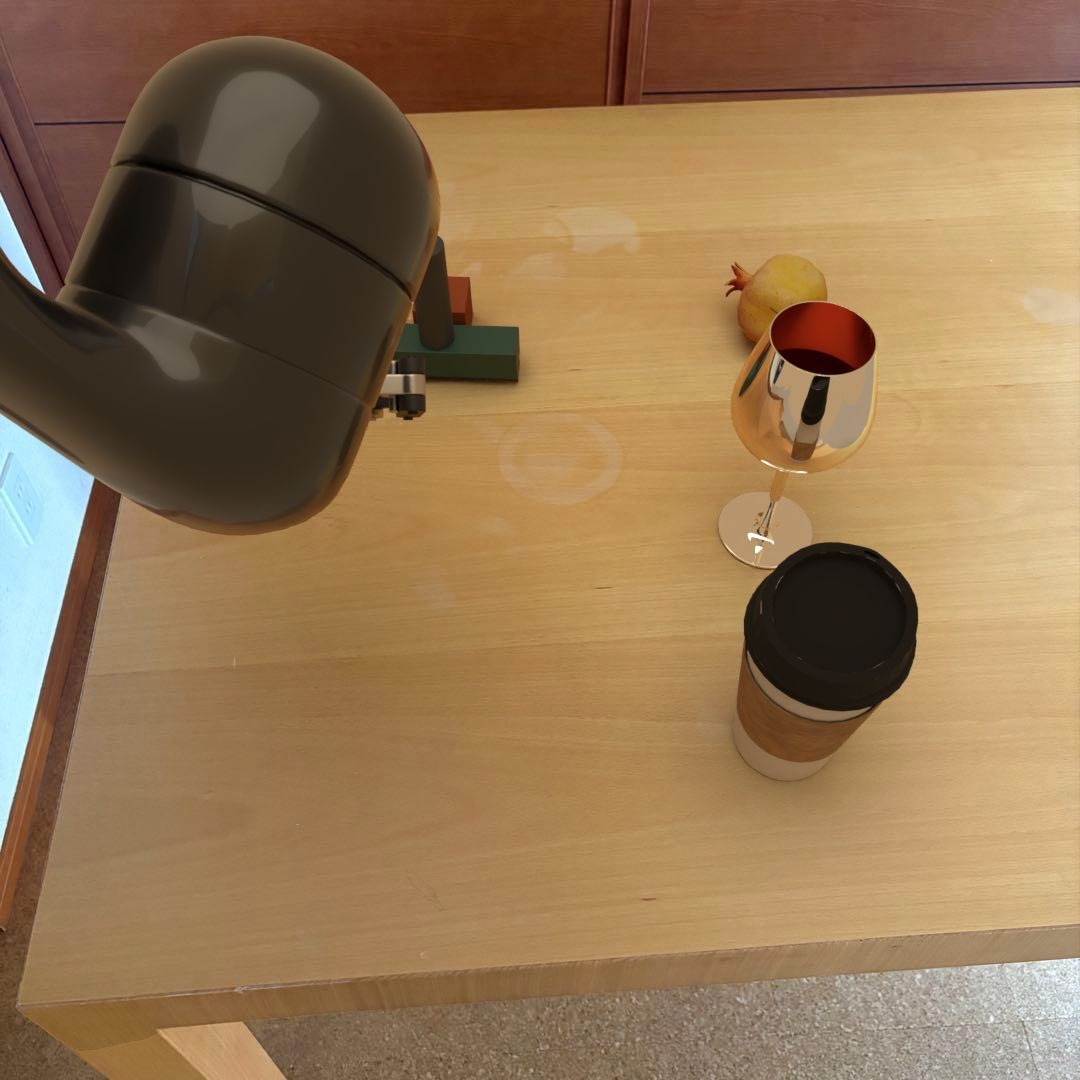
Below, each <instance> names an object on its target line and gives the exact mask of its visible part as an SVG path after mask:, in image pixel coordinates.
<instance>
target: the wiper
mask: <svg viewBox="0 0 1080 1080" xmlns="http://www.w3.org/2000/svg"><path fill="white" fill-rule="evenodd" d="M447 266H448V265H447V256H446V248H445V241H444V240H443V238H442V237H441V236H440V235H438V236H437V240H436V243H435V247H434V250H433V253H432V256H431V258H430V261H429V264H428V267H427V269H426V272H425V275H424V278H423V280H422V283H421V286H420V288H419V291H418V294H417V297H416V299H415V301H413V303H414V306H415V312H416V319H417V324H414V323H408V322H406V324H405V327H404V329H403V332H402V335H401V337H400V340H399V343H398V345H397V348H396V351H395V354H394V356H393V359H392V361H398V359H399V358H405V357H406V355H417V357H418V358H425V380H448V381H449V380H450V381H475V382H476V381H479V382H480V381H481V382H482V381H483V382H511V383H513V382H514V383H517V382H519V376H520V364H521V362H520V360H521V359H520V354H521V347H520V346H521V345H520V344H521V343H520V328H519V326H512V325H511V326H508V325H479V324H477V325H473V324H472V325H453V318H452V309H451V300H450V291H449V283H448V267H447ZM387 374H388V373H387Z"/></svg>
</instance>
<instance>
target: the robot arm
mask: <svg viewBox="0 0 1080 1080" xmlns="http://www.w3.org/2000/svg"><path fill="white" fill-rule="evenodd" d="M109 163H110V167H109V169H108V170H107V172H106V173H105V176H104V179H103V181H102V184H101V186H100V189H99V191H98V194H97V196H96V199H95V202H94V204H93V207H92V209H91V211H90V215H89V217H88V219H87V222H86V223H85V226H84V230H83V232H82V235H81V237H80V240H79V243H78V245H77V247H76V249H75V252H74V255H73V258H72V260H71V263H70V265H69V268H68V271H67V273H66V276H65V278H64V284H65V285H63V286H62V288H60V291H59V292H58V294H57V296H56V297H55V298H53V297H52V296H50V295H48V294H46V293H45V292H43V291H42V290H40V289H39V288H38V287H36V286H35V285H34V284H33V283H32V282H30V281H29V280H28V278H26V277H25V276H24V275H23V274H22V273H21V272H20V271H19V269H17V267H16V266H15V265H14V264H13V262H12V261H11V260H10V258H9V257H8V255H7V254H6V253H5V251H4V250H3V248H2V246H0V415H2V416H3V417H4V418H5V419H7V420H8V421H10V422H12V423H13V424H15V425H16V426H17V427H19V428H21V429H22V430H23V431H24V432H26V433H28V434H29V435H31V436H33V437H34V438H35V439H37V440H38V441H40V442H41V443H43V444H44V445H46V446H47V447H48V448H50V449H51V450H53V451H55V452H56V453H58V454H59V455H60V456H62V457H63V458H65V459H66V460H68V461H69V462H70V463H72V464H73V465H75V466H77V468H79V469H81V470H83V471H84V472H86V473H87V474H88V475H90V476H92V477H93V478H95V479H96V480H97V481H99V482H100V483H102V484H104V485H105V486H107V487H109V489H112V490H113V491H115V492H116V493H118V494H119V495H122V496H123V497H125V498H126V499H128V500H130V501H131V502H133V503H134V504H136V505H138V506H140V507H141V508H144V509H145V510H147V511H149V512H151V513H152V514H155V515H157V516H158V517H161V518H164V519H166V520H168V521H170V522H173V523H175V524H177V525H179V526H180V525H181V526H183V527H187V528H189V529H192V530H197V531H200V532H205V533H209V534H214V535H222V536H235V537H236V536H237V537H238V536H241V537H243V536H259V535H263V534H269V533H273V532H279V531H284V530H287V529H289V528H293V527H295V526H298V525H300V524H303V523H306V522H307V521H310V519H312V518H313V517H315V516H316V515H318V514H320V513H321V512H323V511H324V510H325V509H326V508H328V507H329V506H330V504H332V503H333V501H334V500H335V499H336V497H337V496H338V494H339V493H340V491H341V489H342V488H343V486H344V484H345V483H346V481H347V480H348V478H349V475H350V473H351V470H352V468H353V465H354V463H355V460H356V458H357V456H358V453H359V451H360V448H361V446H362V443H363V440H364V437H365V434H366V432H367V429H368V427H369V423H370V422H376V421H377V419H383V418H384V410H385V409H388V412H389V413H390V414H395V417H396V418H398V419H399V418H400V419H401V418H402V420H403V421H414V419H415V418H416V419H417V418H421V417H422V416H423V415H424V414H425V413H426V412H427V400H426V399H427V398H426V397H427V396H426V391H427V390H426V379H425V358H418V357H417V355H406V357H405V358H399V359H398V361H392V359H393V356H394V354H395V351H396V348H397V345H398V343H399V340H400V337H401V335H402V332H403V329H404V327H405V324H406V323H407V321H408V318H409V315H410V313H411V311H412V308H413V303H414V301H415V299H416V297H417V294H418V291H419V288H420V286H421V283H422V280H423V278H424V275H425V272H426V269H427V267H428V264H429V261H430V258H431V256H432V253H433V250H434V247H435V243H436V240H437V236H439V230H440V225H441V214H442V213H441V212H442V206H441V205H442V204H441V193H440V187H439V182H438V178H437V174H436V171H435V168H434V165H433V162H432V159H431V157H430V155H429V152H428V151H427V148H426V146H425V144H424V142H423V141H422V139H421V137H420V135H419V133H418V131H417V130H416V129H415V128H414V126H413V124H412V123H411V121H410V120H409V119H408V117H407V116H406V115H405V114H404V112H403V111H402V110H401V109H400V108H399V107H398V105H396V103H395V102H394V101H393V100H392V99H391V98H390V97H389V96H388V95H387V94H386V93H385V92H384V91H383V90H382V89H381V88H380V87H378V86H377V85H376V83H374V82H373V81H372V80H370V79H369V78H368V77H367V76H365V75H364V74H363V73H362V72H360V71H359V70H357V69H355V68H354V67H352V66H351V65H349V64H348V63H347V62H345V61H343V60H341V59H339V58H337V57H335V56H333V55H332V54H329V53H327V52H324V51H323V50H320V49H318V48H316V47H313V46H309V45H307V44H303V43H300V42H298V41H294V40H289V39H285V38H281V37H275V36H264V35H240V36H239V35H238V36H229V37H225V38H219V39H213V40H210V41H206V42H202V43H200V44H198V45H196V46H193V47H190V48H189V49H187V50H185V51H184V52H182V53H179V54H178V55H176V56H174V57H173V58H172V59H170V60H169V61H168V62H166V63H165V64H164V65H162V66H161V68H159V69H158V70H157V71H156V72H155V73H154V74H153V75H152V76H151V77H150V79H149V80H148V81H147V83H146V84H145V86H144V87H143V89H142V90H141V91H140V93H139V94H138V96H137V98H136V100H135V102H134V104H133V106H132V107H131V109H130V112H129V113H128V116H127V118H126V120H125V123H124V126H123V129H122V131H121V133H120V136H119V138H118V140H117V144H116V146H115V149H114V152H113V153H112V156H111V159H110V162H109ZM387 373H388V374H387Z"/></svg>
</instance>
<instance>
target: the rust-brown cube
mask: <svg viewBox="0 0 1080 1080" xmlns="http://www.w3.org/2000/svg"><path fill="white" fill-rule="evenodd" d="M448 283H449V291H450V300H451V309H452V318H453V325H473V319H474V310H473V297H472V287H471V277H470V276H448ZM411 314H412V320H413V324H417V319H416V312H415V306H414V302H412V308H411Z"/></svg>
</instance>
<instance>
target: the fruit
mask: <svg viewBox="0 0 1080 1080" xmlns="http://www.w3.org/2000/svg"><path fill="white" fill-rule="evenodd" d="M730 268H731V270H732V272H733V275H734V276H735V278H732V279H730V280H728V281H727V282H726V283H724V286H725V287H726V286H727V287H728V286H733V287H731V288H730V289H728V290H727V291H726V293H725V298H728V297H729V295H730V294H731V293H733V292H735V291H740V293H741V294H740V297H739V299H738V300H739V301H738V304H737V308H736V309H737V323H738V326H739V327H740V329H741V330H742V332H743V333H744V334H745V337H747V339H748V340H750V341H752V342H754V343H756V344H757V343H758V342H759V340H760V339H761V337H762V336H763V334H764V332H765V331H766V329H767V328H768V326H769V325H770V323H771V322H772V320H773V319H774V317H775V316H776V315H777V314H778V313H779V312H780V311H782V310H783V309H785V308H786V307H788V306H790V305H793V304H796V303H800V302H805V301H826V302H828V287H827V282H826V278H825V276H824V273H823V272H822V271H821V270H820V269H818V267H816V266H815V265H814V264H813V263H812V262H811V261H810V260H808V259H806V258H804V257H801V256H799V255H795V254H789V253H788V254H787V253H786V254H785V253H784V254H783V253H782V254H776V255H774V256H772V257H771V258H769V259H768V260H767V261H766V262H765V263H764V264H763V265H762V266H761V267H760V268H759V269H757V270H756V272H755V273H754V274H751V273H749V272H748V271H746V269H745V268H744V267H742V266H741V264H739V263H738V262H737V261H734V265H733V264H731V265H730Z"/></svg>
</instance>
